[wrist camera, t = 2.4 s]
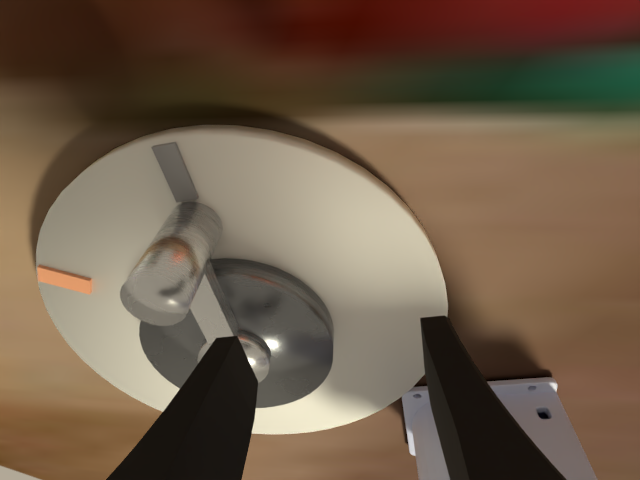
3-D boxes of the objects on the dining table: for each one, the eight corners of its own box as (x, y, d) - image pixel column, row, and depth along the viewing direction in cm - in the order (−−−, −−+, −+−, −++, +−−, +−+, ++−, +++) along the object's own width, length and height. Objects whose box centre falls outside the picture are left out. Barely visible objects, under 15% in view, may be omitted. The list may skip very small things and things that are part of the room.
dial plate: (435, 79, 16) (442, 89, 15) (448, 408, 28) (452, 427, 27) (-44, 168, 19) (-68, 182, 18) (153, 426, 32) (146, 444, 31)
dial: (347, 379, 25) (347, 465, 21) (191, 391, 26) (162, 473, 22) (297, 184, 17) (282, 258, 13) (84, 217, 19) (11, 292, 15)
